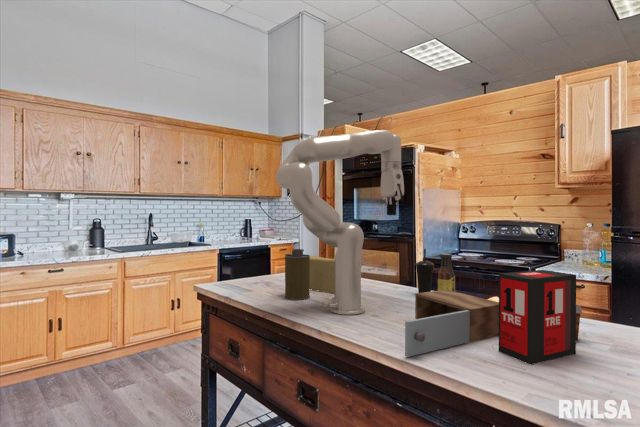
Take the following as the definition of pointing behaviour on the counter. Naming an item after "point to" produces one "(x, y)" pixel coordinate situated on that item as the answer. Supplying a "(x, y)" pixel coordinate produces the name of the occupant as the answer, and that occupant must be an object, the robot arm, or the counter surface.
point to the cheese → (322, 274)
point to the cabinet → (447, 301)
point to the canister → (297, 275)
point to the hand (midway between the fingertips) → (391, 214)
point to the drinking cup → (424, 275)
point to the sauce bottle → (446, 274)
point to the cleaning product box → (537, 315)
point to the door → (436, 332)
